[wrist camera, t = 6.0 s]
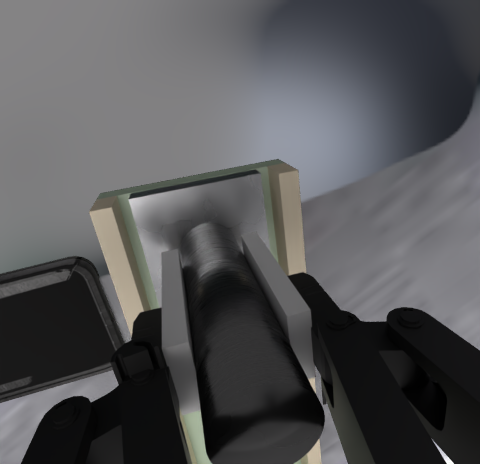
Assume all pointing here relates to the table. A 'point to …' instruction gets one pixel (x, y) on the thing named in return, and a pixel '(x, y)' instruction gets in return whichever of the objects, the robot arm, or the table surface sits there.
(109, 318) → the phone
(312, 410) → the rod
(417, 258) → the table surface
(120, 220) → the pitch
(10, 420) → the table surface
